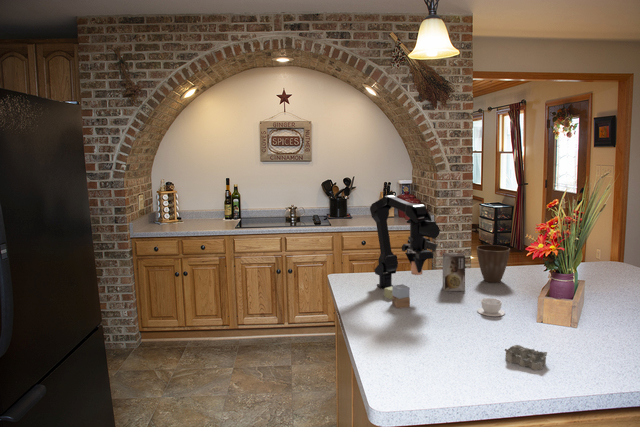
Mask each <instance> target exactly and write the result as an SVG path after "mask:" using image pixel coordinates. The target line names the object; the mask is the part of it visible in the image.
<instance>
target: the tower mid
mask: <svg viewBox="0 0 640 427" xmlns="http://www.w3.org/2000/svg"><path fill="white" fill-rule="evenodd" d="M392 295H393V296H395V297H397V298H398V299H400V298H407V297H410V295H411V293H410V287H409V286H407V285H405V284H403V283H402V284H397V285H393V286H392Z"/></svg>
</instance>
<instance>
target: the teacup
mask: <svg viewBox="0 0 640 427" xmlns="http://www.w3.org/2000/svg"><path fill="white" fill-rule="evenodd" d="M480 303H481V307H480V308H478V309H477V310H476V311H477V312H478V313H479V314H480V315H484V316H487V317H501V316H504V315H505V314H506V313H505V311H504V310H503V309H501V308H502V303H503V301H502V300H500V299H497V298H493V297H492V298H491V297H490V298H489V297H487V298H483V299H481V300H480Z"/></svg>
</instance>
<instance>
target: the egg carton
mask: <svg viewBox="0 0 640 427" xmlns="http://www.w3.org/2000/svg"><path fill="white" fill-rule="evenodd" d="M504 351H505V359H504V360H505V361H507V363H509V364H519V366H520V367H530V368H531V370H534V371H536V370H542V369H543V366H546V360H547V355H548V351H539V350H535V349H534V348H528V347H524V346H522V345H519V344H514V345H511V346H510V347H509V348H508V349H507V348H505V349H504Z"/></svg>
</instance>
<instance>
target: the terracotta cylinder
mask: <svg viewBox="0 0 640 427" xmlns="http://www.w3.org/2000/svg"><path fill="white" fill-rule="evenodd" d="M410 266H411V268H410V270H411V272H410V273H411V275H414V276H419V275H421V276H422V275H423V269H422V270H421V272H420V273H418V271H417V268H416V265H415V261H412V262H411V264H410Z"/></svg>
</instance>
